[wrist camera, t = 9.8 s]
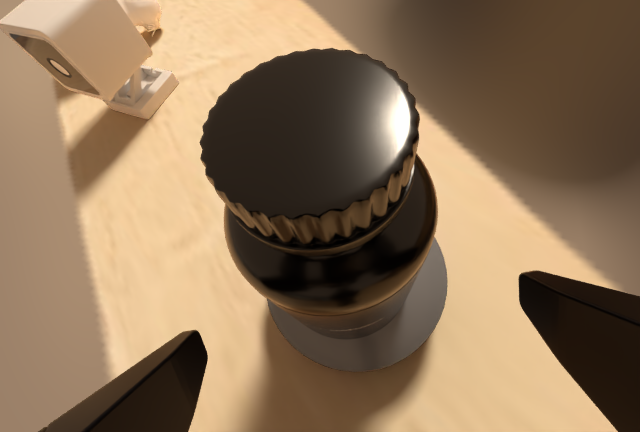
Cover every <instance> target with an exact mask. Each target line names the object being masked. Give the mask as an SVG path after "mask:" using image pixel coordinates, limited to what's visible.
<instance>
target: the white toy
mask: <svg viewBox="0 0 640 432" xmlns="http://www.w3.org/2000/svg"><path fill="white" fill-rule="evenodd" d="M22 1H23V2H24V1H25V0H22ZM117 1H118V3H119V4H120V6H121V7H122V8H123V10H124V11H125V13H126V14H127V16H128V17H129V18H130V20H131V21H132V23H133V24H134V26H143V27H145V28H146V29H147V30H148V31H147V32H149V31H153V30H154V31H153V34H154V33H155V31H156V30H157V29H160V17H161V14H162V11H161V7H160V5H159V3H158V1H157V0H117ZM153 34H152V36H153Z"/></svg>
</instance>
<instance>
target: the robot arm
mask: <svg viewBox="0 0 640 432" xmlns="http://www.w3.org/2000/svg"><path fill="white" fill-rule="evenodd" d="M519 301H520V305H521V307H522V309H523V311H524V312H525V314H526V315H527V317H528V318H529V319H530V321H531V322H532V324H533V325H534V327H535V328H536V330H537V331H538V332H539V334H540V335H541V337H542V338H543V340H544V341H545V343H546V344H547V346H548V347H549V348H550V350H551V351H552V353H553V354H554V355H555V357H556V358H557V360H558V361H559V362H560V363H561V365H562V366H563V367H564V368H565V369H566V371H567V372H568V373H569V374H570V375H571V377H572V378H573V379H574V380H575V381H576V382H577V384H578V385H579V386H580V387H581V388H582V390H583V391H584V392H585V393H586V394H587V395H588V397H589V398H590V399H591V400H592V401H593V403H594V404H595V405H596V406H597V407H598V408H599V410H600V411H601V412H602V413H603V414H604V416H605V417H606V418H607V419H608V420H609V422H610V423H611V424H612V425H613V426H614V427H615V429H616V430H617V431H618V432H640V296H636V295H632V294H628V293H624V292H620V291H616V290H612V289H609V288H605V287H601V286H597V285H593V284H589V283H585V282H581V281H577V280H573V279H569V278H565V277H561V276H557V275H553V274H550V273H546V272H542V271H529V272H524V273H521V274H520V275H519ZM207 360H208V355H207V351H206V348H205V346H204V343H203V341H202V338H201V336H200V333H199V332H198V331H197V330H191V331H185V332H182V333H180V334H179V335H177V336H176V337H174V338H173V339H172V340H170V341H169V342H167V343H166V344H164V345H163V346H161V347H160V348H159V349H157V350H156V351H154V352H153V353H151V354H150V355H148V356H147V357H146V358H144V359H143V360H141V361H140V362H138V363H137V364H135V365H134V366H132V367H131V368H130V369H128V370H127V371H125V372H124V373H122V374H121V375H119V376H118V377H117V378H115V379H114V380H112V381H111V382H109V383H108V384H106V385H105V386H104V387H102V388H101V389H99V390H98V391H96V392H95V393H94V394H92V395H91V396H89V397H88V398H86V399H85V400H83V401H82V402H81V403H79V404H78V405H76V406H75V407H73V408H72V409H70V410H69V411H67V412H66V413H65V414H63V415H62V416H60V417H59V418H58V419H56V420H54V421H53V422H52V423H50V424H49V425H48V427H44V428H43V429H41V430H40V431H38V432H188V431H189V428H190V425H191V422H192V419H193V416H194V412H195V409H196V405H197V401H198V397H199V393H200V389H201V385H202V381H203V377H204V373H205V369H206V365H207Z"/></svg>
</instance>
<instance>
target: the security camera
mask: <svg viewBox="0 0 640 432" xmlns="http://www.w3.org/2000/svg"><path fill="white" fill-rule="evenodd" d="M0 29H1V30H2V31H3V32H4V33H5V34H6V35H7V36H8V37H9V38H11V39H12V40H13V41H14V42H15V43H16V44H17V45H18V46H19V47H21V48H22V49H23V50H24V51H25V52H26V53H27V54H28V55H29V56H31V57H32V58H33V59H34V60H35V61H36V62H37V63H38V64H39V65H40V66H41V67H43V68H44V69H45V70H46V71H47V72H48V73H49V74H50V75H51V76H52V77H54V78H55V79H56V80H57V81H58V82H59V83H60V84H61V85H63V86H64V87H65V88H67V89H68V90H70V91H73V92H76V93H80V94H84V95H87V96H91V97H95V98H98V99H102V100H103V101H104V102H105V103H106V104H107V105H108V106H109V107H110V108H111V109H112V110H115V111H118V112H122V113H125V114H129V115H132V116H136V117H139V118H143V119H150V118H151V116H152V115H153V114H154V113H155V112H156V110H157V109H158V108H159V107H160V106H161V104H162V103H163V102H164V101H165V99H166V98H167V97H168V96H169V95H170V93H171V92H172V91H173V90H174V89H175V87H176V86H177V85H178V84H179V81H178V80H177V78H176V77H175V75H174V74H173V72H172V71H168V70H163V69H158V68H155V69H154V70H153V69H152V67H149V66H144V65H142V64H143V63H144V61H145V60H146V59H147V58H148V57H151V56H152V54H153V53H152V50H151V48H150V47H149V45H148V44H147V43H146V41H145V40H144V38H143V37H142V36H141V34H140V33H139V31H138V30H137V28H136V27H135V26H134V24H133V23H132V21H131V20H130V18H129V17H128V16H127V14H126V13H125V11H124V10H123V8H122V7H121V6H120V4H119V3H118V1H117V0H25V1H24V2H22V3H21V4H20V5H19V6H17V7H16V8H15V9H14V10H12V11H11V12H10V13H9V14H7V16H5V17H4V18H3V19H1V20H0Z"/></svg>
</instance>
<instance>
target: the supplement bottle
mask: <svg viewBox="0 0 640 432" xmlns="http://www.w3.org/2000/svg"><path fill="white" fill-rule="evenodd" d="M415 106H416V99H415V97H414V96H413V95H412V94H411V93H410V92H409V91H408V84H407V83H406V82H404V81H403V80H401V79H399V76H398V74H397V72H396V71H394V70H392V69H389V68H387V67H386V65H385V64H384V63H383V62H382V61H378V60H374V59H372V58H371V57H369V56H368V55H367V54H357V53H355V52H353V51H350V50H337V49H333V48H329V49H323V50H320V49H310V50H307V51H295V52H292V53H290V54H288V55H284V56H277V57H275V58H273V59H272V60H270V61H268V62H264V63H261V64H259V65H258V66H257V67H255V68H254V69H253V70H251V71H248V72H246V73H244V74H243V75H242V76H241V78H240V79H239V80H237V81H235V82H233V83H232V84H230V86H229V87H228V89H227V91H226V92H224V93H223V94H222V95H220V96H219V97H218V100H217V102H216V105H215V106H214V107H213V108H212V109H211V110H210V111H209V115H208V119H207V121H206V122H205V123H204V125H203V133H204V134H203V136H202V138H201V140H200V145H201V147H202V149H203V150H202V154H201V161H202V163H203V165H204V166H205V167H206V169H205V172H206V176H207V178H208V180H209V181H210V183H211V184H212V185H213V186H214V187H215V190H216V192H217V194H218V195H219V197H220V198H221V199H222V200H223V201H224V203H225V209H224V231H225V238H226V242H227V246H228V249H229V252H230V254H231V257H232V259H233V261H234V263H235V265H236V267H237V268H238V270H239V271H240V272H241V274H242V275H243V276H244V278H245V279H246V280H247V281H248V282H249V283H250V284H251V285H252V286H253V287H254V288H255V289H256V290H257V291H258V292H259V293H260V294H262V295H263V296H264V297H266V298H267V299H268V300H270V301H271V302H273V303H274V304H275V305H277V306H278V307H279V308H281V309H282V310H284V311H285V312H286V313H288V314H289V315H291V316H292V317H293V318H295V319H296V320H298V321H299V322H300V323H302V324H303V325H305V326H306V327H308V328H309V329H311V330H313V331H314V332H316V333H318V334H321V335H323V336H326V337H330V338H334V339H345V340H349V339H357V338H362V337H365V336H369V335H371V334H373V333H375V332H377V331H379V330H380V329H382V328H383V327H385V326H386V325H387V324H388V323H390V322H391V321H392V320H393V319H394V317H395V316H396V315H397V314H398V312H399V311H400V309H401V308H402V306H403V304H404V303H405V301H406V299H407V297H408V295H409V293H410V291H411V289H412V286H413V284H414V282H415V280H416V278H417V276H418V274H419V272H420V270H421V268H422V266H423V264H424V262H425V260H426V258H427V255H428V253H429V251H430V248H431V245H432V242H433V239H434V235H435V232H436V226H437V218H438V205H437V197H436V191H435V187H434V184H433V181H432V179H431V176H430V174H429V172H428V170H427V168H426V166H425V164H424V163H423V161H422V160H421V158H420V157H419V156H418V154H417V153H416V151H417V147H418V141H419V132H418V127H419V121H420V117H419V113H418V111H417V110H416V108H415Z"/></svg>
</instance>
